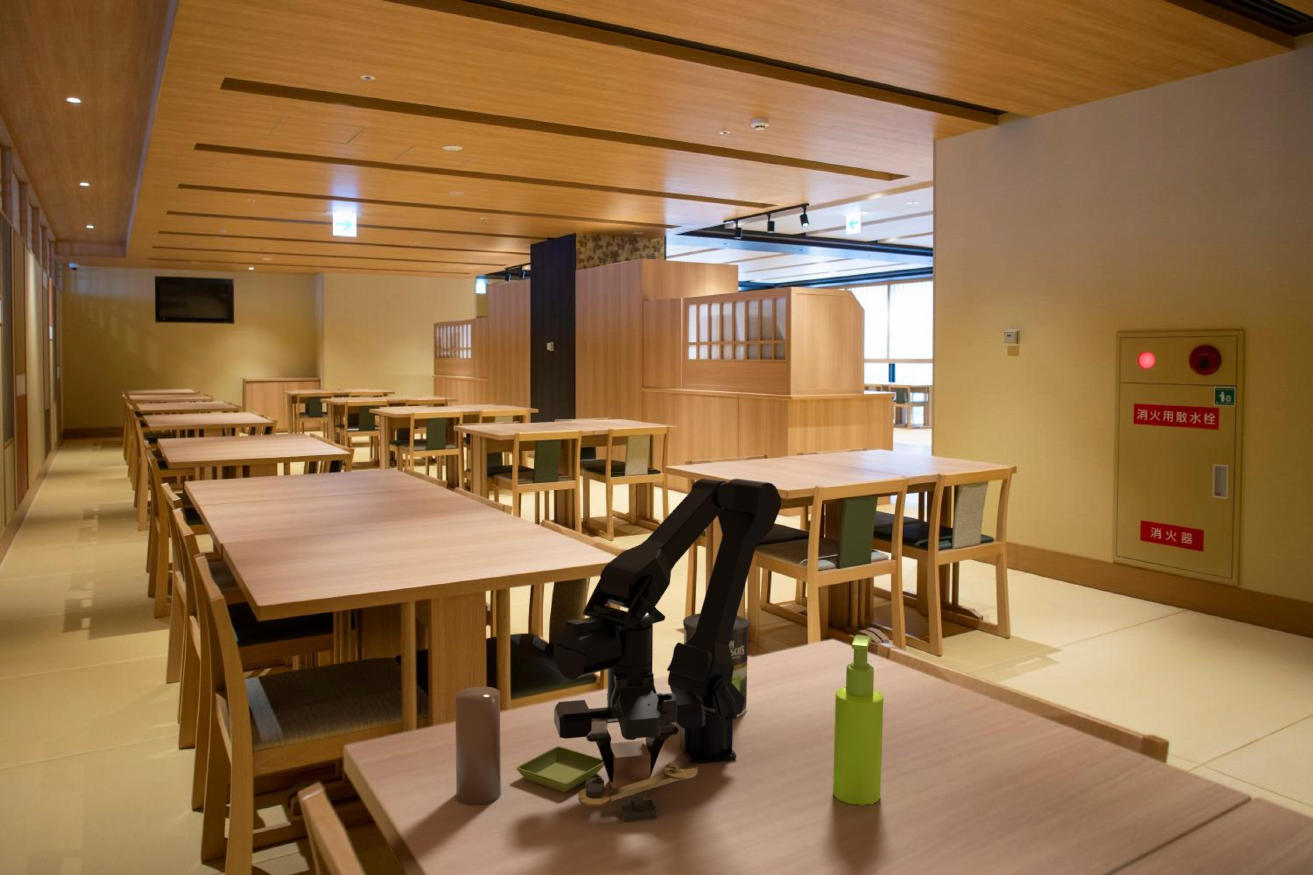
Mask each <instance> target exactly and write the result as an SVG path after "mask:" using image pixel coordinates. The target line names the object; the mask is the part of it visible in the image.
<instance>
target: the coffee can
mask: <svg viewBox="0 0 1313 875" xmlns="http://www.w3.org/2000/svg"><path fill="white" fill-rule="evenodd" d="M699 616H700V613H695V614H694V613H693V614H691V615H689V616H686V617H685V618H684V619H682V620H683V621H682V625H683V644H685V643H686V642H687V641H688V640H689V639H690V638H691V637H692V636H693V635H694V633H695V630H696V626H697V623H698V619H699ZM749 628H750V621H749V620H748V619H746V618H745V617H744V616H740V615H737V616H736V620H735V624H734V627H733V631H732V634H731V638H730V642H729V649H730V653H731V657H732V661H733V665H734V670H733V676H732V682H731V683H732V684H733V685H734V686H735V687H736V688H737V689H738V691H739V692H740V693H741V694H742V695H743V696H744V697H745V701H744V706H743V710H742V713H741V714H738V715H737V718H739V717H742V716H743V715H745V714H746V712H747V710H748V708H747V702H748V701H747V695H748V690H747V689H748V657H749V656H748V655H749V654H748V653H749V652H748V650H749V648H748V647H749V645H748V644H749Z"/></svg>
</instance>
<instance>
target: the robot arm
mask: <svg viewBox="0 0 1313 875" xmlns="http://www.w3.org/2000/svg"><path fill="white" fill-rule="evenodd" d="M781 506H782V497H781V495H780V493H779V491H778V488H777V487H776V486H775V485H774V483H772V482H769V481H759V480H751V479H746V478H745V479H744V478H743V479H742V478H732V479H731V480H729V481H725V480H721V479H713V478H706V477H704V478H700V479H697V480H696V481H695V482H694V483H693V484H692V486H691V490H690V491H689V492H688V494H687V495H686V496H684V498H683V499H682V500H681V501H680V502H679V504H677V506H676V507H675V508H674V509H673V510H672V511H671V512H670V513H669V515H667V516H666V518H665V519H664V520H662V521H661V523H660V524H659V525H658V526H657V527H656V528H655V529H654V531H653V532H652V533H651V534H650V535H649V536H648V537H647V539H645V540H644V541H643V542H642V543H640V544H639V545H636V546H633V547H631V548H629V549H625V550H624V551H622V552H621V553H620V554H618V555H617V556H616V557H614V558H613V559H612V560H610V561H609V562H608V563H607V564H606V565H605V566H604V568H603V569H601V570H602V571H601V573H600V576H599V577H600V578H599V580H598V582H597V584H596V586H595V587H594V590H593V591H592V594H591V595H590V597H589V599H588V601H587V604H586V605H585V607H584V609H583V612H582V614H583V616H584V618H581V619H571V620H570V619H569V620H567V621H566V620H565V624H564V626H565V628H564V629H565V630H564V631H562V632H560V633H559V635H558V636H557V638H556V640H555V644H554V645H553V658H554V662H555V664H556V667H557V669H558V670H559V672H560V673H561V675H563V676H564V677H566V678H567V679H569V680H576V679H580V678H582V677H586V676H590V675H593V674H595V673H598V672H602V671H605V670H606V671H607V686H606V687H607V688H606V689H607V690H606V691H607V692H606V702H607V703H606V704H607V707H595V708H590V707H589V706H588V703H587V702H586V699H579V700H568V701H567V700H565V701H558V702H557V704H556V705H555V706H554V709H553V715H554V716H553V724H555V725H554V726H555V728H556V732H557V734H558V737H559V738H560V739H564V740H565V739H576V738H577V739H578V738H586V741H587V742H590V743H594V742H595V743H596V745H597V747H598V750H599V754H600V757H601V759H602V760H603V763H604V766H603V768H604V769H605V773H606V775H607V779H608V782H609V781H610V782H613V763H612V754H611V743H612V736H611V734H610V732H609V730H608V724H614V723H618V725H619V728H620V733H621V736H622V738H623V739H625V740H627V741H635V740H636V739H643V738H645V743H644V744H645V746H646V747H647V749H648V751H649V753H650V754H651V772H650V778H652V774H653V772H654V769H655V766H656V763H657V761H658V758H659V756H660V752H661V750H662V748H663V746H664V744H665V743H666V741H667V740H668V739H669V738H670V737H671V736H675V735H676V736H677V735H678V733H679V747H680V748H681V750H682V751H683V753H684V754H685V755H686V757H687V758H688V759H689V761H690V763H692V764H694V763H705V762H715V761H726V760H734V759H737V754H736V752H735V751H734V750H733V734H734V733H733V732H734V731H733V730H734V729H733V728H734V727H733V726H734V725H733V724H734V720H736V719H737V718H738V717H737V715H738V714H741V713H742V710H743V706H744V701H745V697H744V696H743V695H742V694H741V693H740V692H739V691H738V689H737V688H736V687H735V686H734V685H733V684H732V683H731V682H732V676H733V670H734V665H733V661H732V657H731V653H730V649H729V642H730V638H731V634H732V631H733V627H734V624H735V620H736V616H738V612H739V609H740V606H741V605H740V604H741V601H742V597H743V594H744V590H745V587H746V583H747V580H748V576H749V573H750V569H751V566H752V562H753V557H754V556H755V555H754V554H755V552H756V549H757V548H756V547H757V545H758V544H760V542H761V541H763V539H765V537H766V536H767V535H768V534H769V533H770V532H771V531H772V530H773V529H774V525H775V523H776V521H777V518H778V516H779V513H780V510H781ZM716 518H717V519H718V523H719V526H720V531H721V540H720V543H719V546H718V549H717V550H718V551H717V554H716V557H715V561H714V564H713V568H712V571H711V575H710V578H709V581H708V585H707V588H706V592H705V595H704V599H703V602H702V606H701V610H700V616H699V619H698V623H697V626H696V630H695V633H694V635H693V636H692V637H691V638H690V639H689V640H688V641H687V642H686V643H685V644H684V643H681V642H677V643H676V644H675V645H674V648H673V653H672V657H671V660H670V663H669V665H668V667H667V668H666V671H667V672H668V676H667V685H668V686H669V689H670V692H669V693H662V692H657V690H656V686H655V678H654V677H655V674H654V673H653V656H654V655H653V650H654V649H653V645H654V642H653V641H654V639H653V636H654V630H653V628H654V624H657V623H660V622H664V621H665V620H666V615H664V614H663V613H662V612H661V611H659V609H658V608H657V607H656V606H657V605H658V603H659V602H660V600H661V599H662V597H663V596H664V595H665V592H666V590H668V588H669V586H670V584H671V577H672V571H673V568H674V567H675V565H676V564H677V563H678V562H679V561H680V559H681V558H683V556H684V555H685V554H686V553H687V551H688V550H689V549H690V548H691V547H692V546H693V545H694V543H695V542H696V541H697V540H698V539H699V538H700V537H701V535H702V534H703V533H704V532H705V531H706V530H707V529H708V527H709V526H710V525H712V523H713V521H714V520H716ZM607 604H611V605H613V606H618V607H621V608H625V609H627V611H626V610H623V609H620V608H619V609H618V608H615V607H612V606H608V605H607ZM585 616H586V617H585ZM676 724H677V725H679V728H678V727H677V725H676Z"/></svg>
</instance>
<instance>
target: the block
mask: <svg viewBox="0 0 1313 875" xmlns="http://www.w3.org/2000/svg"><path fill="white" fill-rule="evenodd" d="M644 742H645V741H644V740H636V741H635V740H632V741H625V742H611V754H612V763H613V782H610V781H609V780H608V782H609V785H610V787H611V790H614V789H617V788H620V787H623V786H627V785H630V784H633V783H636V782H640V781H643V780H646V779H649V778H651V777H650V772H651V754H650V753H649V751H648V749H647V747H646V746H645V743H644ZM650 793H651V789H649V790H645V791H644V794H650Z"/></svg>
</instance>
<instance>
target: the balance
mask: <svg viewBox="0 0 1313 875" xmlns="http://www.w3.org/2000/svg"><path fill="white" fill-rule="evenodd" d="M697 775H698V767H697V765H695V764H694V763H693V762H688V761H682V760H681V761H680V760H679V761H673V762H668V763H667V764H666V765H665V766H664V773H663V774H660V775H656V776H653V777H650V778H649V779H646V780H643V781H640V782H636V783H633V784H630V785H627V786H623V787H620V788H617V789H614V790H612V789H611V790H609V789H607V788H605V780H604V779H603V778H601V777H594V776H593V777H591V778H589V779H587V780H586V781H585V787H584V788H583V789H581V790H580V791H579V792H578V794H577V799H578V800H577V801H578V802H579V803H580V804H581V805H584V806H587V807H601V806H605V805H608V804H609V803H610V802H613V801H616V800H619V799H622V798H626V797H629V796H631V797H632V798H631V801H629V800H628V801H620V802H619V809H618V811H619V813H620V815H621V817H622V820H623V822H624V823H628V822H638V821H646V820H657V819H658V810H657V807H656V805H655V803H654V802H653V799H652V798H650V799H645V793H644V791H645V790H649V789H650V790H652V789H655V788H658V787H661V786H663V785H664V786H665V785H668V784H671V783H674V782H677V781H680V780H690V779H692V778H695V777H696V776H697Z"/></svg>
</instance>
